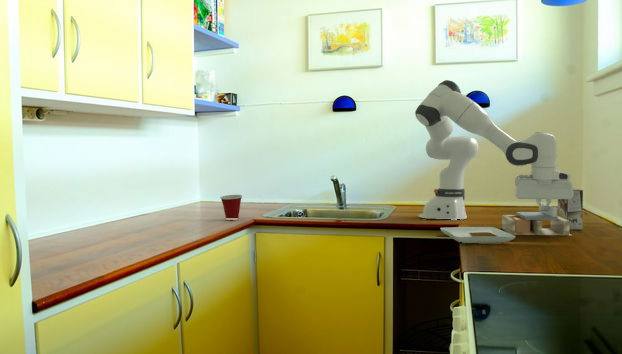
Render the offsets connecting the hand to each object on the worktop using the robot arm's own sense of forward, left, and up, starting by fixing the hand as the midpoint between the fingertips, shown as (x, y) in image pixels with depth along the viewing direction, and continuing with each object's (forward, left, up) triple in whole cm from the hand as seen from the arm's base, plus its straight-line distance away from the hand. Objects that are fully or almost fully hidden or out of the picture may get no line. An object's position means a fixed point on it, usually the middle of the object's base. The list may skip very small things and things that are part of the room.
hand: (543, 210), depth 185 cm
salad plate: (-27, -12, -10) cm, 31 cm away
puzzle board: (-3, +1, -9) cm, 10 cm away
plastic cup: (-135, +30, -9) cm, 139 cm away
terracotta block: (-8, 0, -8) cm, 11 cm away
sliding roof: (-2, +1, -2) cm, 4 cm away
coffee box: (+15, +16, -9) cm, 24 cm away
